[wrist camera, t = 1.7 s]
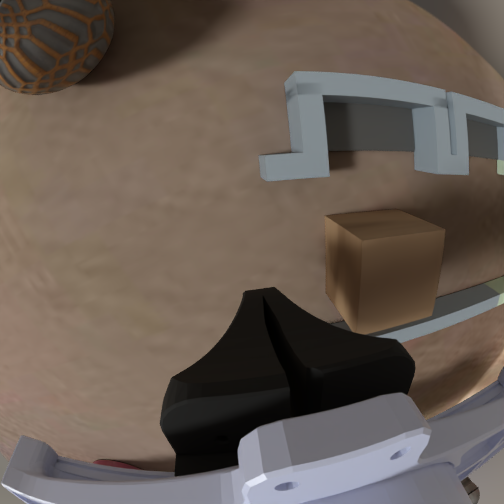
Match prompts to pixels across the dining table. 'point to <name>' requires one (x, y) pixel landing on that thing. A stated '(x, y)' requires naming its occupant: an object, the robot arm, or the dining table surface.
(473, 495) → the beverage cup
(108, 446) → the dining table surface
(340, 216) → the walnut block
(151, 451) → the dining table surface
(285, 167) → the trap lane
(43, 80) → the vase
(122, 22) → the dining table surface
